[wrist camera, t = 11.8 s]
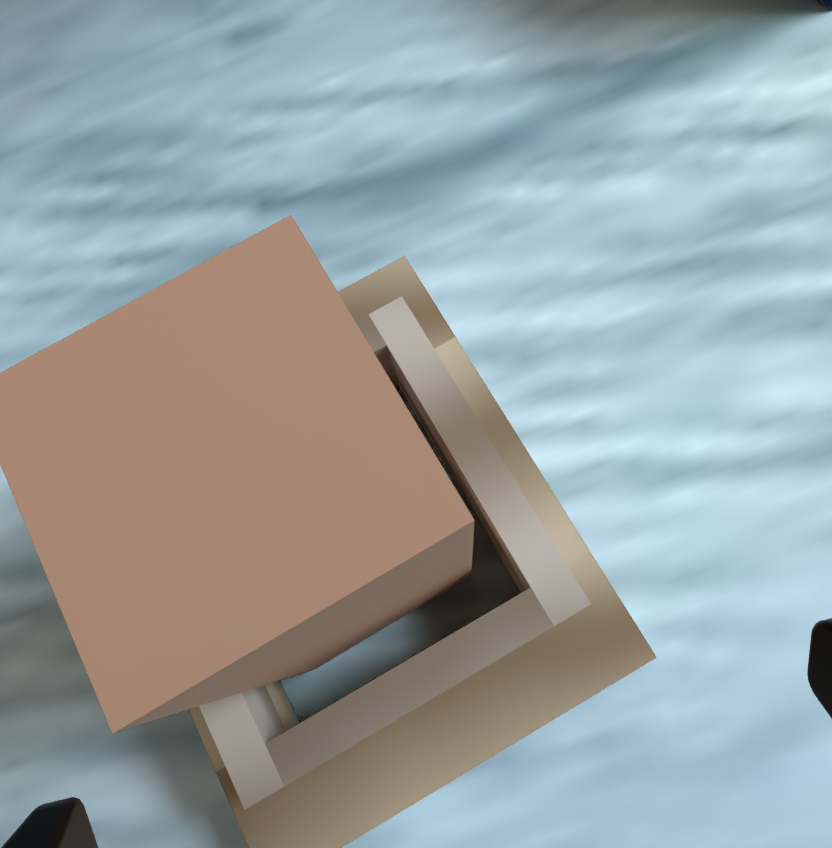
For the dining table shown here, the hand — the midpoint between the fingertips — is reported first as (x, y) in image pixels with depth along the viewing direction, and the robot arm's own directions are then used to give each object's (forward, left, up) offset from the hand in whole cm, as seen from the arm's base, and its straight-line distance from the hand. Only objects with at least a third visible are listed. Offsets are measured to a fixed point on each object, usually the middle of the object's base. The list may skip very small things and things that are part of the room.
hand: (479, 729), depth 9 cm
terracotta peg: (+4, +2, -12) cm, 13 cm away
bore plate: (+4, +2, -12) cm, 13 cm away
